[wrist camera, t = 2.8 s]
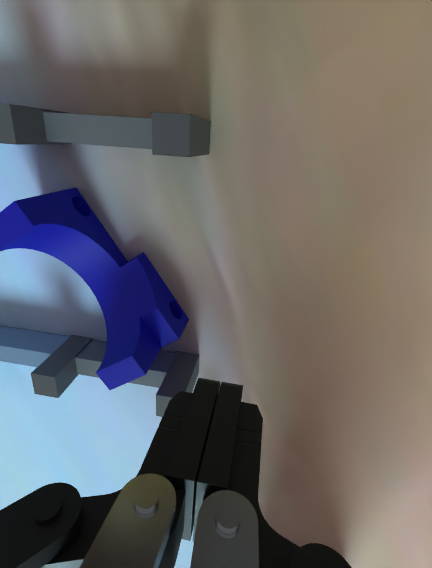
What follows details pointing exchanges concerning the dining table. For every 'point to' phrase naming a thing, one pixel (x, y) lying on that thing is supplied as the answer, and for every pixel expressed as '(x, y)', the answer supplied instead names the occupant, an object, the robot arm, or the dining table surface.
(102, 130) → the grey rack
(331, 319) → the dining table surface
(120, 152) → the dining table surface
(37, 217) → the blue curved block
